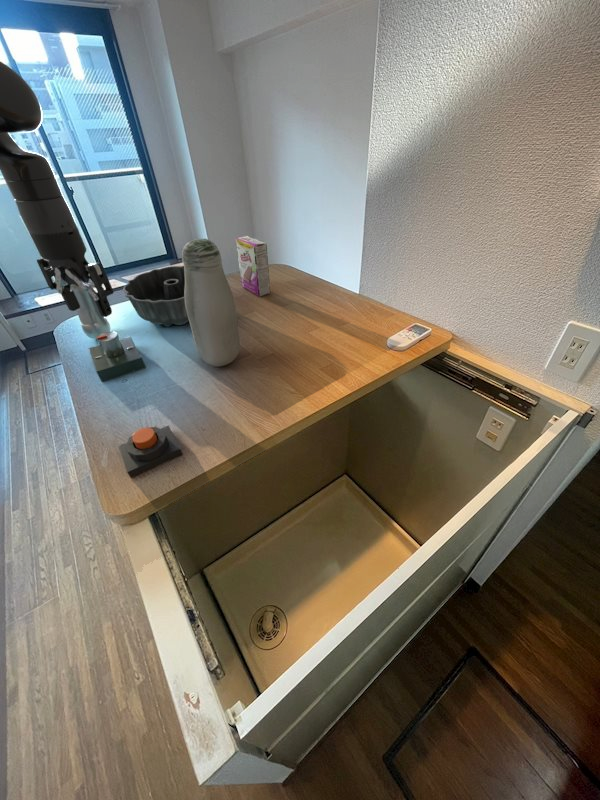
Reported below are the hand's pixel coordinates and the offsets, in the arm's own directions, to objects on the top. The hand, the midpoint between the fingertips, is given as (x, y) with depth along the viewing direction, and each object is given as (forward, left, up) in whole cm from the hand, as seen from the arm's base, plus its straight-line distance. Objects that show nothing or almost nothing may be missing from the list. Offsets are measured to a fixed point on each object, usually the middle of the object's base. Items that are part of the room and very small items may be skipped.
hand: (91, 312), depth 68 cm
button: (-18, -25, -12) cm, 33 cm away
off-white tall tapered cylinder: (+12, -22, -16) cm, 29 cm away
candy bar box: (+54, -11, -16) cm, 57 cm away
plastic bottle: (+12, +17, -16) cm, 26 cm away
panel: (+3, +2, -15) cm, 16 cm away
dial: (+3, +2, -12) cm, 13 cm away
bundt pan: (+31, +4, -16) cm, 35 cm away
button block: (-18, -25, -15) cm, 34 cm away
